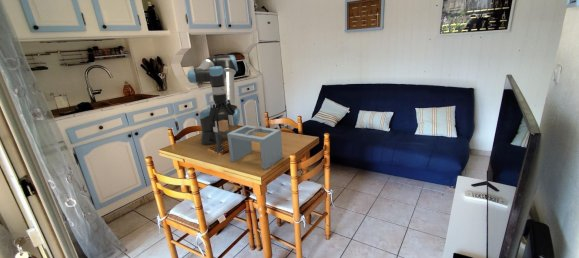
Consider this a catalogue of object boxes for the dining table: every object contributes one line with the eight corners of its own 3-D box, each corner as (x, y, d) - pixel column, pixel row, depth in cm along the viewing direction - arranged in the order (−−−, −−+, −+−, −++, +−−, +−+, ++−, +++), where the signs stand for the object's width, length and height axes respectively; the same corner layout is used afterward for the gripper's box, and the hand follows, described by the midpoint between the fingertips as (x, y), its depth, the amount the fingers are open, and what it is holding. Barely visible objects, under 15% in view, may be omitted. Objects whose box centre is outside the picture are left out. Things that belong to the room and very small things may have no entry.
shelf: (230, 161, 159) (227, 133, 154) (248, 150, 173) (246, 125, 167) (266, 169, 147) (263, 139, 141) (282, 157, 160) (280, 129, 155)
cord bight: (215, 152, 173) (210, 120, 166) (221, 149, 177) (216, 118, 170) (233, 156, 165) (229, 123, 159) (239, 153, 169) (235, 121, 163)
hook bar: (245, 136, 150) (245, 132, 149) (259, 129, 160) (259, 125, 160) (248, 137, 149) (248, 133, 148) (262, 130, 159) (262, 126, 159)
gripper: (207, 98, 147) (213, 135, 154) (238, 90, 168) (241, 123, 174) (198, 97, 151) (203, 134, 158) (229, 89, 171) (232, 122, 178)
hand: (223, 128), depth 166 cm, fingers open, 13 cm apart
